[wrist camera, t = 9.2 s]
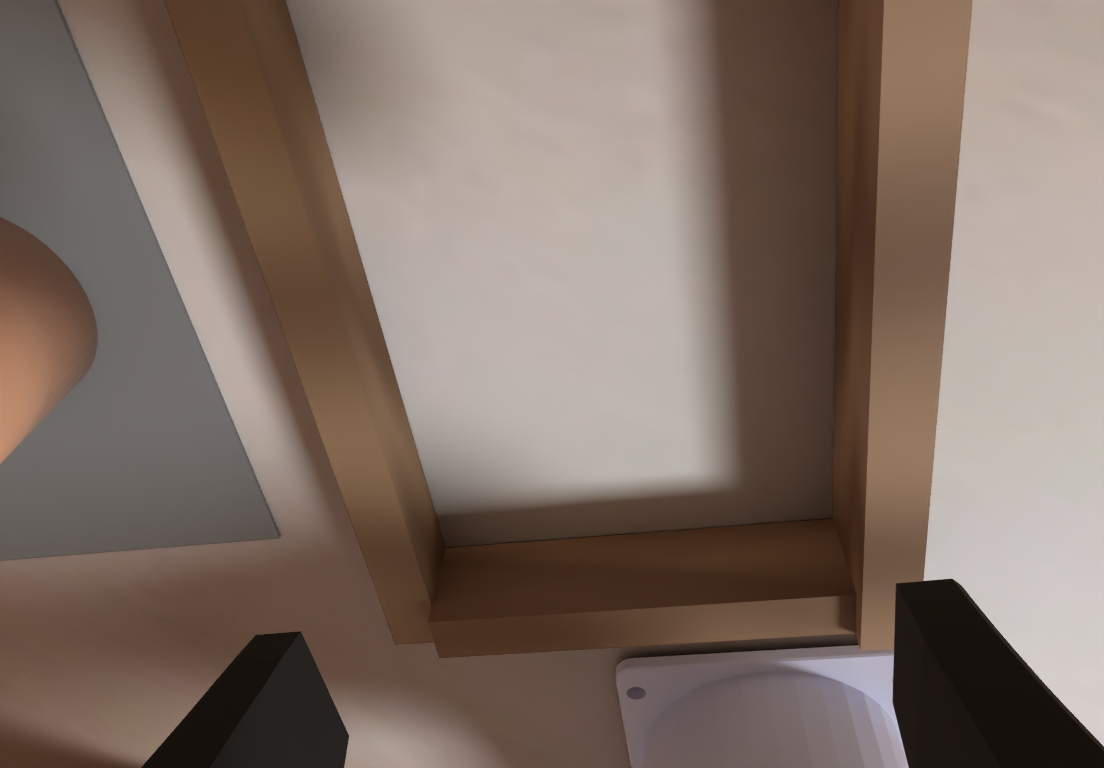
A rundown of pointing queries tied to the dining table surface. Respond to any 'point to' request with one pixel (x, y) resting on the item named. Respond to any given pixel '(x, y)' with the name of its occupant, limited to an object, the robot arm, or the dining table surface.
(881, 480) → the cold frame
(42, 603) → the dining table surface
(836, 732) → the robot arm
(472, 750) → the dining table surface
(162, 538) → the potting mat
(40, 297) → the terracotta pot
